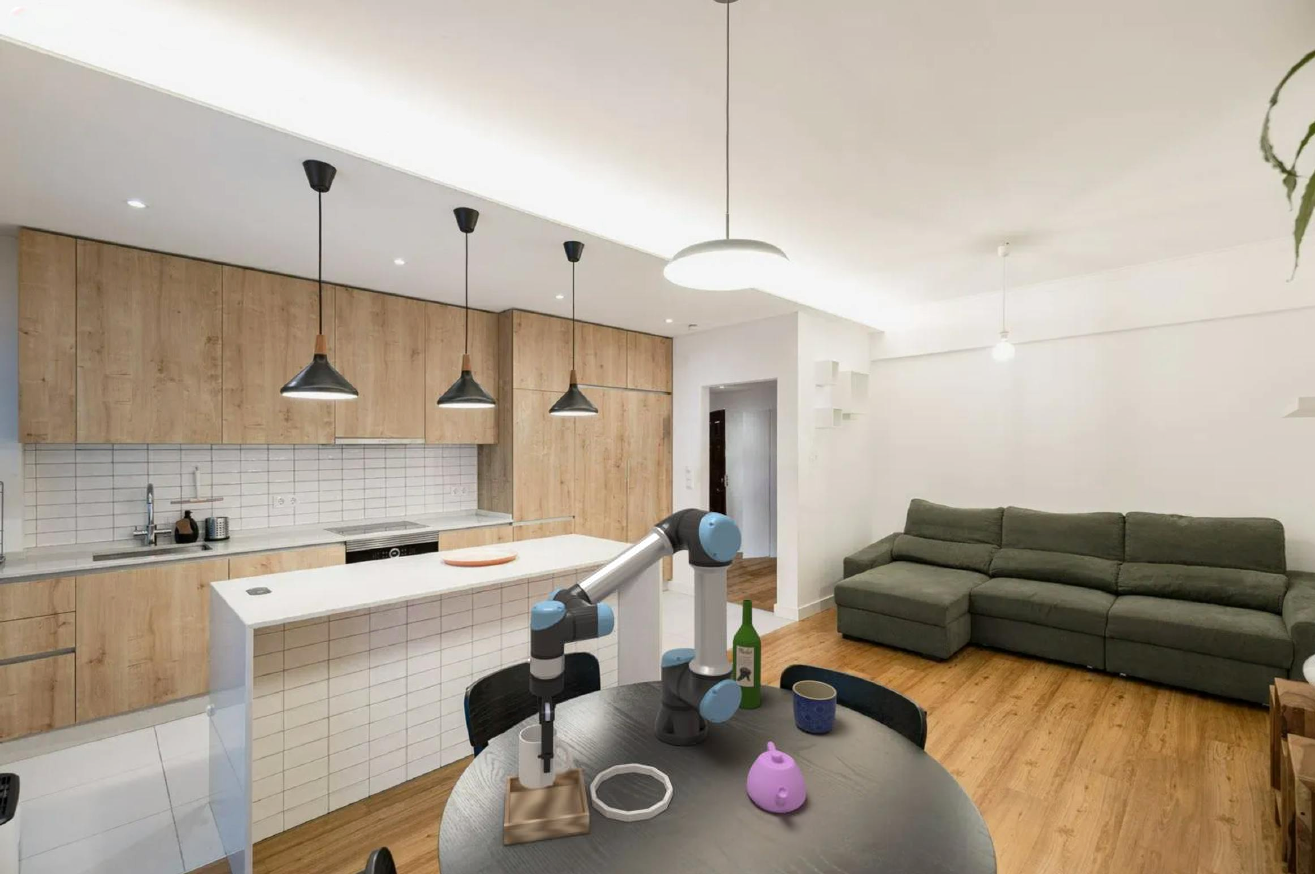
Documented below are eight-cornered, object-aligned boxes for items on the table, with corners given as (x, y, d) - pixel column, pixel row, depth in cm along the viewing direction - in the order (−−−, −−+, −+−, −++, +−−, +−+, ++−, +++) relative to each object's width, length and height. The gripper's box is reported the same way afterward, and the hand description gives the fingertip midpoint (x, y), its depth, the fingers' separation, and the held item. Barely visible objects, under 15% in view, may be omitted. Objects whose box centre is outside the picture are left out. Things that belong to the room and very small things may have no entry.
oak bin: (581, 783, 141) (581, 767, 141) (589, 833, 124) (589, 814, 124) (506, 793, 138) (506, 776, 137) (504, 845, 120) (504, 826, 120)
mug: (576, 771, 133) (577, 726, 134) (566, 793, 125) (567, 745, 125) (526, 767, 135) (526, 722, 135) (513, 788, 127) (513, 741, 127)
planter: (801, 712, 179) (802, 676, 179) (842, 724, 172) (842, 687, 172) (785, 728, 169) (785, 691, 169) (827, 742, 162) (827, 703, 161)
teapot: (751, 827, 127) (752, 779, 127) (742, 773, 147) (743, 731, 147) (815, 830, 126) (816, 781, 126) (797, 775, 146) (798, 733, 146)
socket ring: (661, 766, 149) (661, 760, 149) (680, 814, 131) (680, 807, 131) (586, 775, 145) (586, 769, 145) (596, 826, 126) (596, 819, 126)
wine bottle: (731, 707, 181) (732, 603, 181) (732, 695, 190) (733, 595, 189) (760, 710, 180) (761, 605, 179) (760, 697, 188) (761, 597, 188)
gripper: (529, 655, 140) (528, 749, 140) (530, 694, 119) (528, 804, 120) (561, 653, 142) (559, 746, 142) (567, 691, 121) (565, 799, 121)
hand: (545, 772), depth 131 cm, fingers closed on mug, 8 cm apart
